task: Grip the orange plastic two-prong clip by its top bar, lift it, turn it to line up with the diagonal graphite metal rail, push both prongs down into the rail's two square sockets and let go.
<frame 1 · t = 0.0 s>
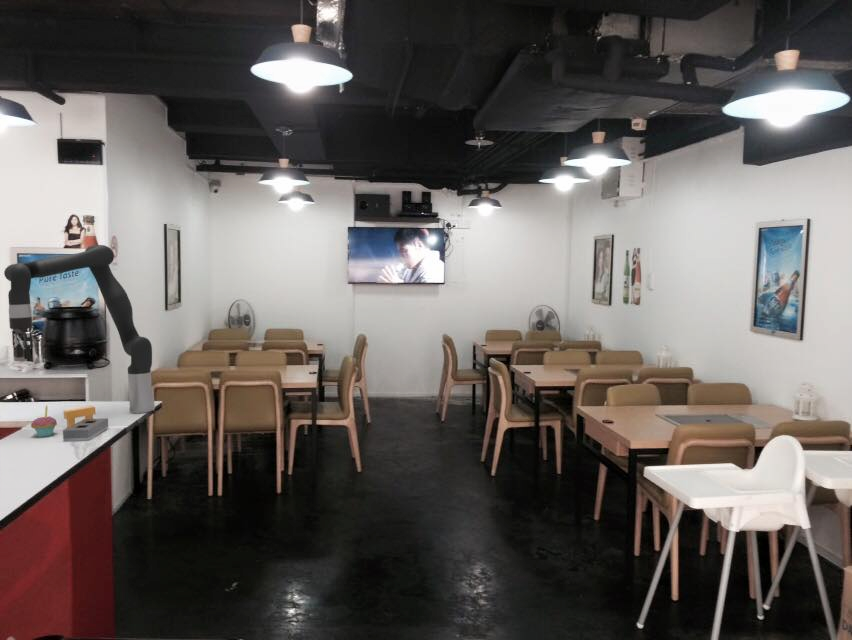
hand: (23, 357, 256), 29 cm above the countertop, fingers open, 8 cm apart
rail: (86, 434, 254), on the countertop
cupcake: (44, 435, 253), on the countertop
clip: (80, 425, 267), on the countertop
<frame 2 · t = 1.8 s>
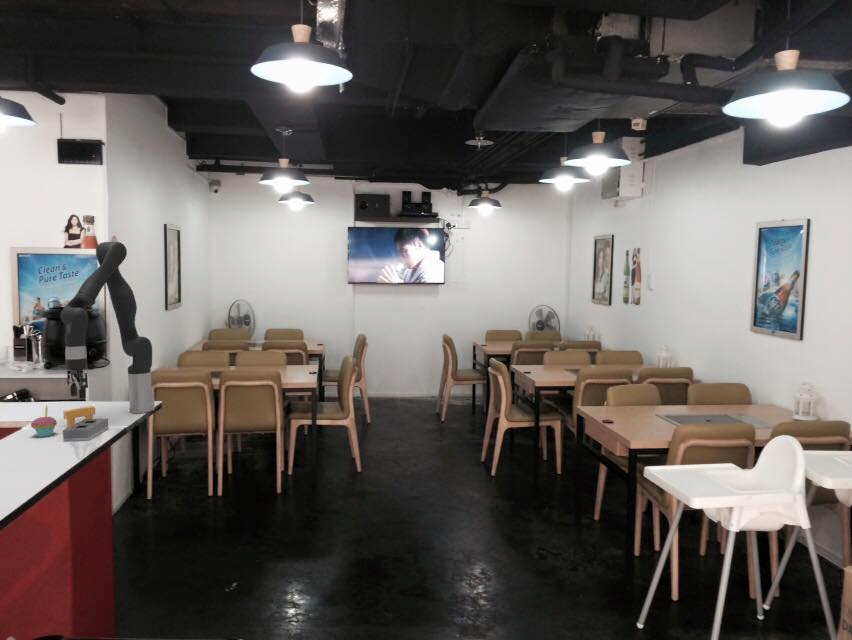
hand: (78, 397, 266), 12 cm above the countertop, fingers open, 8 cm apart
nothing on the countertop moved.
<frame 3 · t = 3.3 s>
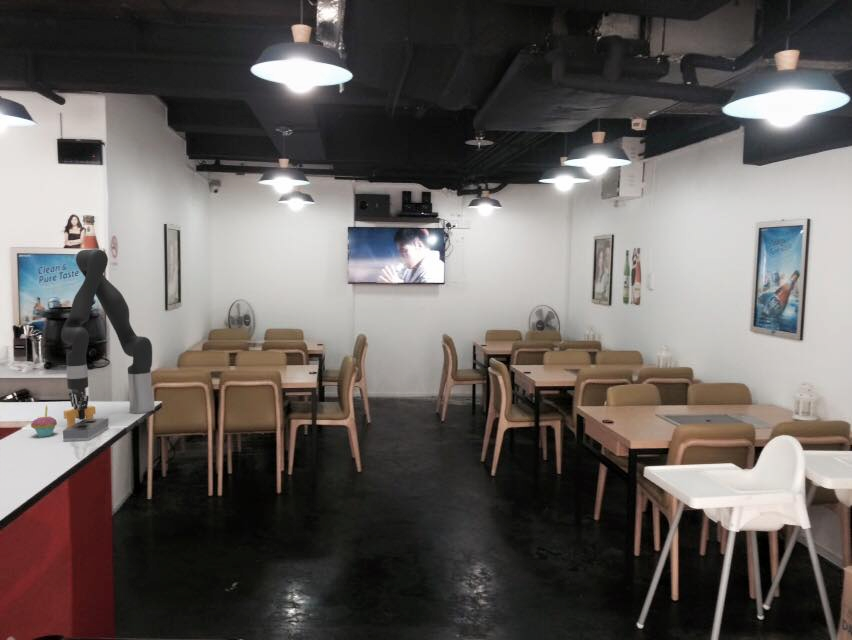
hand: (80, 418, 267), 3 cm above the countertop, fingers closed on clip, 3 cm apart
clip: (80, 425, 267), on the countertop, touching gripper
everything else where it was.
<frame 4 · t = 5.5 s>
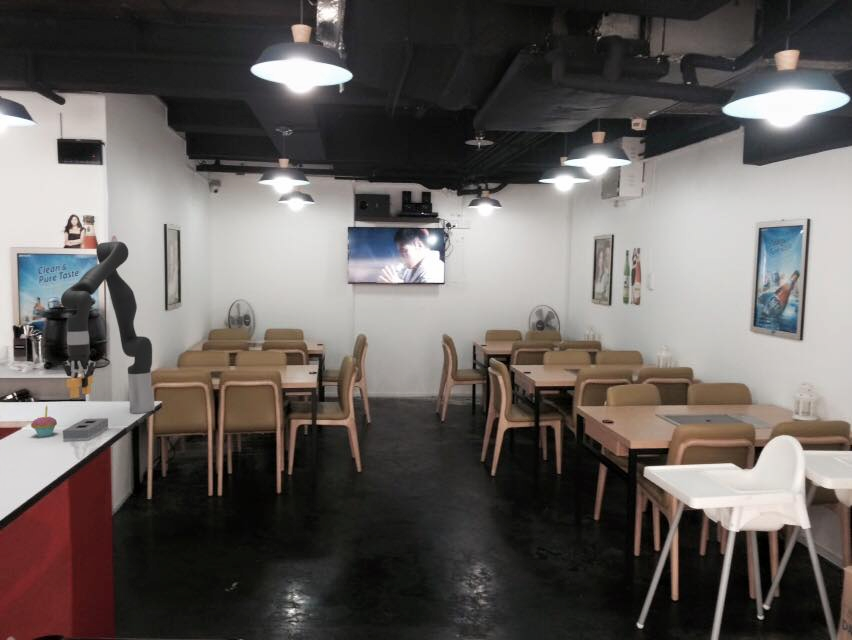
hand: (80, 387, 255), 18 cm above the countertop, fingers closed on clip, 3 cm apart
clip: (80, 395, 256), point 15 cm above the countertop, touching gripper
everything else where it was.
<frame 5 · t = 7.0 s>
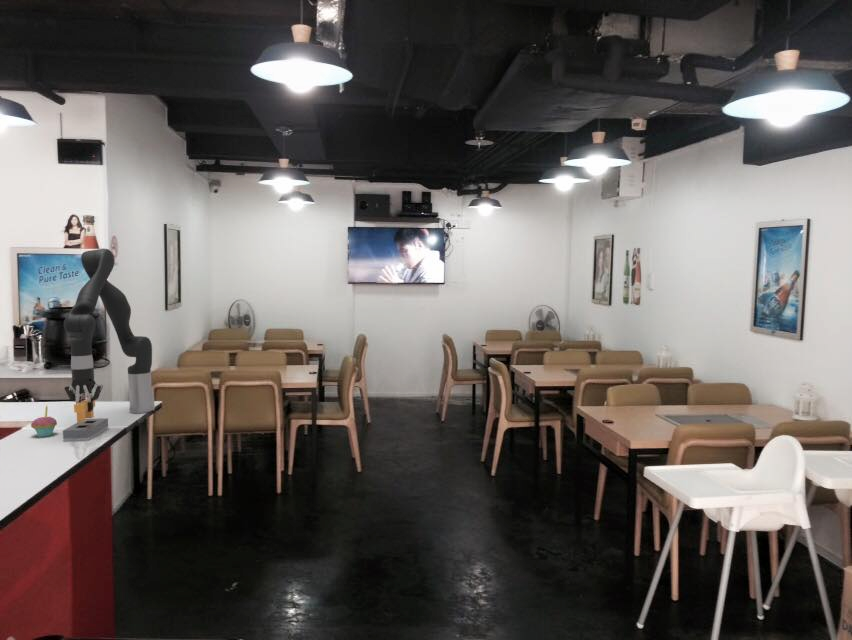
hand: (85, 411, 253), 9 cm above the countertop, fingers closed on clip, 3 cm apart
clip: (85, 419, 253), point 6 cm above the countertop, touching gripper
everything else where it was.
when the fingers open (5 cm above the countertop, at t = 8.1 s): clip stays where it is, resting on rail.
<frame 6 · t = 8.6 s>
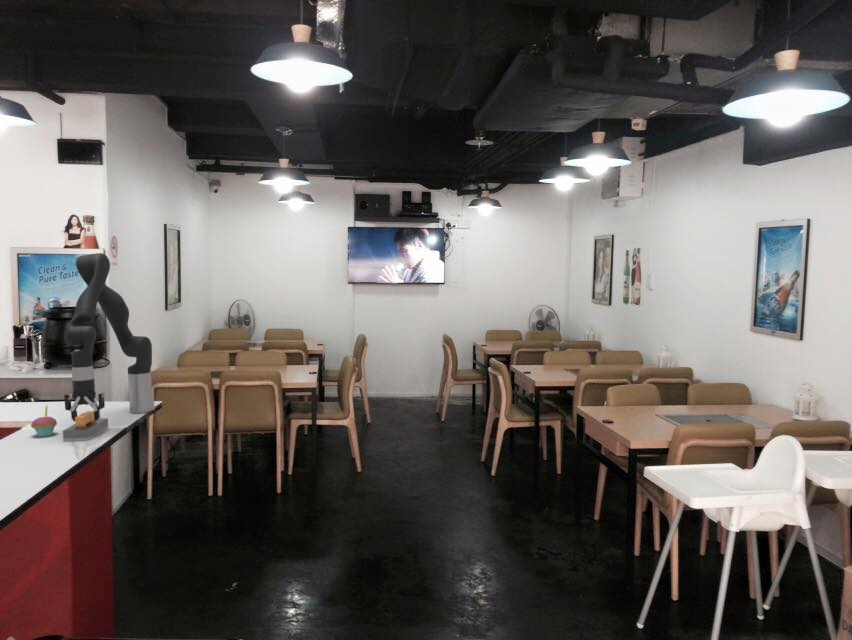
hand: (85, 420, 253), 6 cm above the countertop, fingers open, 7 cm apart
clip: (86, 431, 254), point 1 cm above the countertop, touching rail
everything else where it was.
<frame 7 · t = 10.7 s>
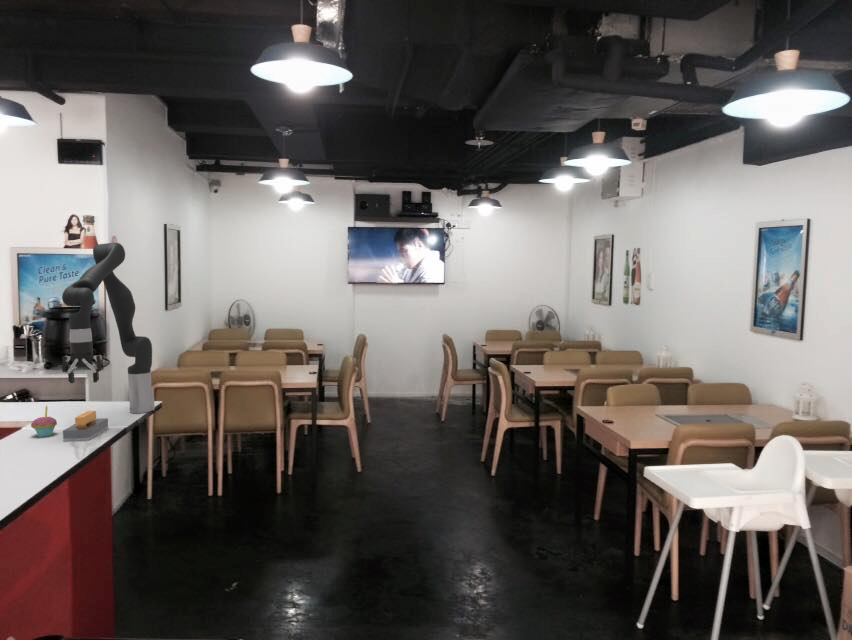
hand: (83, 382, 252), 20 cm above the countertop, fingers open, 8 cm apart
nothing on the countertop moved.
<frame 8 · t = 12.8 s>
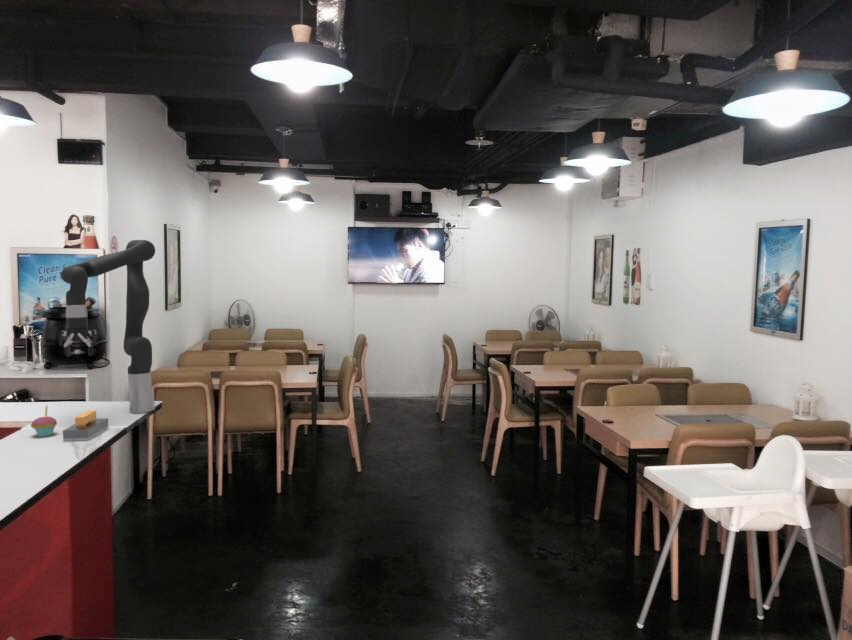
hand: (79, 356, 267), 28 cm above the countertop, fingers open, 8 cm apart
nothing on the countertop moved.
at the end: clip 0.1 cm off-centre on the rail, point 1.0 cm above the rail's base; clip tilted 0°; the gripper is holding nothing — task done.
